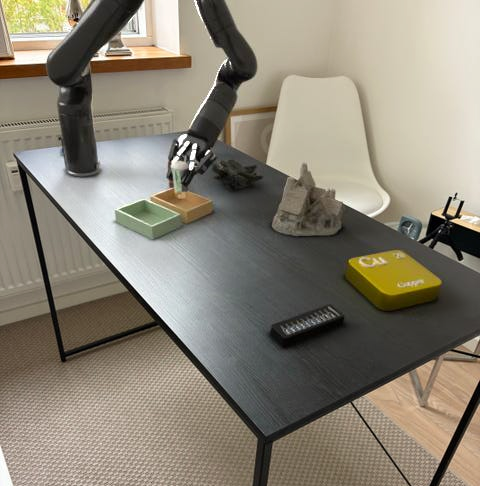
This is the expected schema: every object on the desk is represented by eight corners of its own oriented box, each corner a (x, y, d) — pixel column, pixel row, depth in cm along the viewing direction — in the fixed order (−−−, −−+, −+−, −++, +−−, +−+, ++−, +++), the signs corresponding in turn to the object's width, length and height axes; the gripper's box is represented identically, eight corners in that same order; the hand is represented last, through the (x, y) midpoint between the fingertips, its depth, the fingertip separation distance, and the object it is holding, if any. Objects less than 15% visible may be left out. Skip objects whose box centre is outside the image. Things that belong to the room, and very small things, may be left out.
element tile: (382, 313, 97) (387, 293, 95) (341, 275, 108) (345, 256, 105) (440, 299, 103) (447, 280, 100) (395, 264, 113) (400, 246, 111)
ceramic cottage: (262, 224, 125) (273, 168, 116) (298, 208, 136) (310, 155, 127) (313, 249, 118) (328, 191, 109) (346, 230, 129) (362, 176, 120)
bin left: (115, 221, 122) (114, 209, 120) (144, 210, 128) (144, 198, 126) (152, 239, 116) (151, 226, 114) (181, 226, 122) (181, 214, 120)
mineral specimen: (244, 182, 134) (236, 146, 133) (207, 196, 140) (199, 161, 139) (269, 185, 146) (261, 152, 145) (233, 197, 153) (226, 165, 152)
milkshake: (194, 194, 129) (193, 156, 123) (184, 201, 125) (183, 162, 119) (179, 190, 130) (178, 153, 124) (169, 197, 126) (167, 159, 120)
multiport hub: (269, 334, 90) (270, 324, 89) (328, 312, 97) (330, 303, 95) (283, 348, 87) (284, 338, 86) (343, 324, 94) (346, 315, 92)
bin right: (150, 207, 130) (150, 196, 128) (176, 197, 136) (176, 186, 134) (186, 223, 124) (186, 211, 122) (212, 212, 130) (212, 200, 128)
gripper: (180, 108, 124) (148, 167, 124) (223, 121, 117) (189, 183, 117) (194, 126, 131) (164, 181, 130) (236, 138, 124) (204, 197, 124)
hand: (176, 182), depth 124 cm, fingers closed on milkshake, 4 cm apart
